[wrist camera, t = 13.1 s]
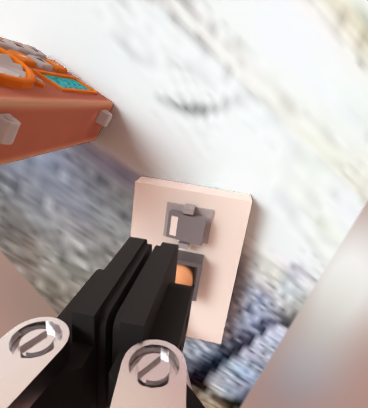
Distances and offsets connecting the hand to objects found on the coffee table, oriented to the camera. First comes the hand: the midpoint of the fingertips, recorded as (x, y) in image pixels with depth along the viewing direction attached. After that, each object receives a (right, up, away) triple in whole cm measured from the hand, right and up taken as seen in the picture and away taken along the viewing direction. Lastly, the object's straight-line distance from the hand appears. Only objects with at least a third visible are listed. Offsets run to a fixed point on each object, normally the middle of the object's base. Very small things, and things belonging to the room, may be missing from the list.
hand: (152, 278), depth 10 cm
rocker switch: (+1, 0, +25) cm, 25 cm away
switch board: (+1, -5, +31) cm, 32 cm away
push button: (+1, -6, +27) cm, 28 cm away
